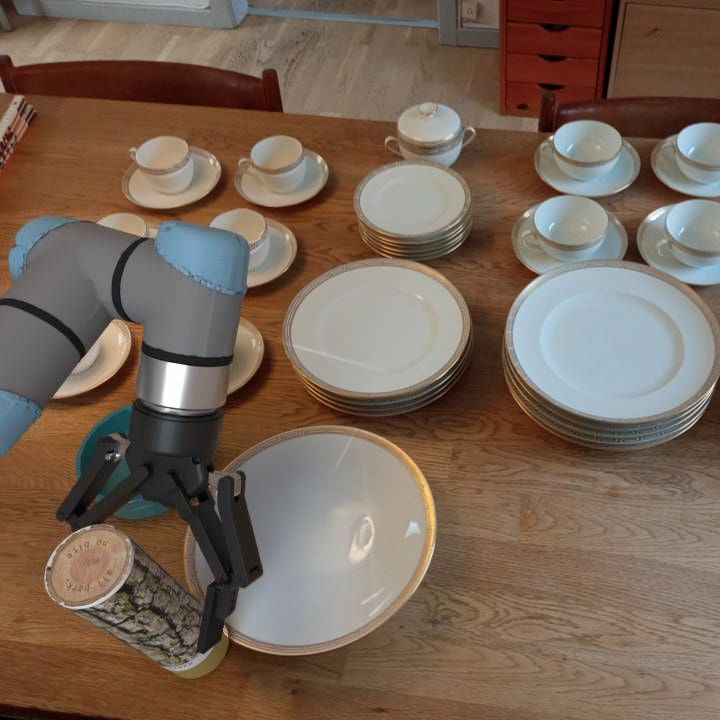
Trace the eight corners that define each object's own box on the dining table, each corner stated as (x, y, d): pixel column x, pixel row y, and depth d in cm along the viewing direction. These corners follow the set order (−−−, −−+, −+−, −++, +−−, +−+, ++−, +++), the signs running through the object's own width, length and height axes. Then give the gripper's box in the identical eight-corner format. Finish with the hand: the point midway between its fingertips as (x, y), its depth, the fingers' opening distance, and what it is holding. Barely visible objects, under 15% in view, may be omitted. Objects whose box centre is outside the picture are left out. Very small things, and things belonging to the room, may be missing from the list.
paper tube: (229, 675, 77) (124, 600, 56) (164, 685, 76) (35, 613, 56) (233, 610, 81) (137, 518, 60) (171, 619, 80) (53, 530, 60)
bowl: (67, 499, 90) (49, 482, 86) (136, 407, 98) (123, 388, 94) (166, 534, 87) (151, 518, 83) (229, 436, 95) (218, 417, 91)
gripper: (327, 432, 65) (285, 646, 68) (94, 361, 70) (66, 563, 74) (284, 452, 58) (240, 690, 61) (28, 370, 63) (1, 594, 67)
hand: (145, 621), depth 68 cm, fingers open, 13 cm apart
